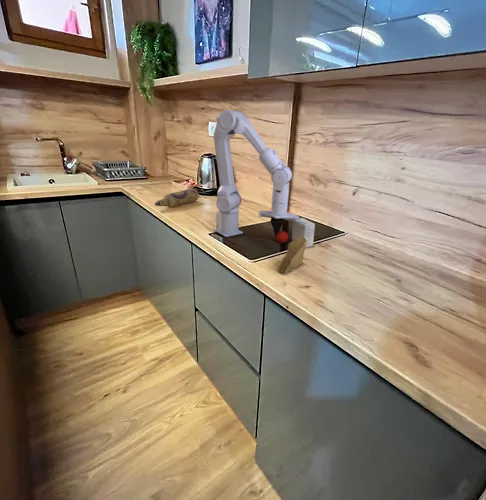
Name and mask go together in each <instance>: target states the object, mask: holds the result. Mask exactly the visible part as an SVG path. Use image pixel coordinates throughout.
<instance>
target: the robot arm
mask: <svg viewBox="0 0 486 500" xmlns="http://www.w3.org/2000/svg"><path fill="white" fill-rule="evenodd" d="M215 120H216V124H215V128H214V132H213V143H214V151H215V158H216V164H217V165H216V166H217V173H218V179H219V188H218V189H217V194H216V195H217V197H216V203H215V204H216V207H217V209H218V210H217V211H216V213H215V228H214V229H213V230H214V231H215V232H217V234H220V235H221V236H223V237H225V238H229V237H233V236H237V235H242V234H244V232H243V231H241V230H240V229H239V227H240V225H239V224H240V223H239V222H240V217H239V216H240V209H239V207H240V205H241V204H242V197H241V195H240V191H239V188H238V186H237V185H236V184H235V183H236V182H235V176H234V169H233V167H234V166H233V160H232V152H231V151H232V150H231V142H230V141H231V139H232V138H233V137H234V135H236V134H239V135H242V136H243V137H245V139H246V140H247V141H248V142H249V143H250V144H251V146H252V147H253V148H254V150H255V151H256V152H257V153H258V160H259V161H260V163H261V164H262V166H263V167H264V168H265V170H266V171H267V172H268V173H269V174H270V175H271V176H270V179H271V182H272V195H271V207H270V208H271V209H270V210H259V211H258V218H269V219H270V224H271V226H272V230H273V233H274V234H273V235H274V238H275V237H276V235H278V233H279V231H281V228H282V226H283V224H284V223H285V221H290V222H293V221H295V222H298V219H299V218H300V215H298V214H293V213H288V203H289V193H290V181H291V180H292V177H293V172H292V170H291V168H290V167H289V166H287V165H286V163H285V162H283V161H282V160H281V158H280V157H279V156H278V151H277V150H276V149H275V150H274V149H273V148H271V147H267V146H266V144H265V142H264V141H263V139H262V138H261V137H260V135H259V134H258V132H257V130H256V129H255V127H254V126H253V125H252V123H251V121H250V119H249V118H248V117H246V115H245V113H244V112H243V111H241V110H231V109H224V110H221V112H220V113H219V114H218V115H217V116H216V118H215Z"/></svg>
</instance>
